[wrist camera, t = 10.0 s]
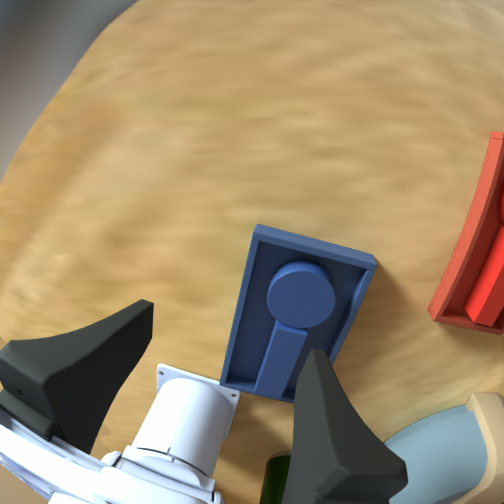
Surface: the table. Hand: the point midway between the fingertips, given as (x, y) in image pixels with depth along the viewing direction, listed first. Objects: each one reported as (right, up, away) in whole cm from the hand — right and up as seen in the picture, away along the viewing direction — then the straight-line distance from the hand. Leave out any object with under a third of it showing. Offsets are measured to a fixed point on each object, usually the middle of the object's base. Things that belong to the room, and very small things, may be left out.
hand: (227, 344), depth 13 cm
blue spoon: (+4, -1, +9) cm, 10 cm away
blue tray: (+4, -1, +10) cm, 11 cm away
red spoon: (+20, +5, +4) cm, 21 cm away
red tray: (+20, +5, +4) cm, 21 cm away
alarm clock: (+24, -20, +14) cm, 34 cm away
